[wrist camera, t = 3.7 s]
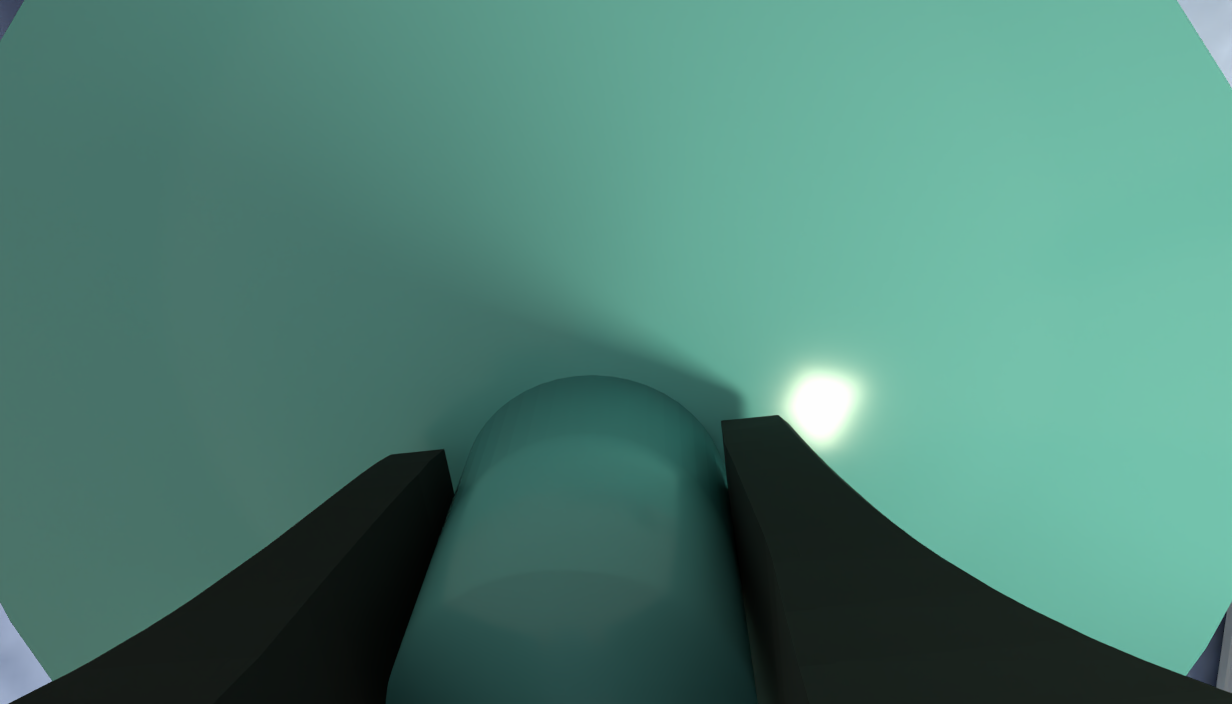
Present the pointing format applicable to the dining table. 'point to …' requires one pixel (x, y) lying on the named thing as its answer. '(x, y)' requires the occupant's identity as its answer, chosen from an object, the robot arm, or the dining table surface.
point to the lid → (612, 310)
